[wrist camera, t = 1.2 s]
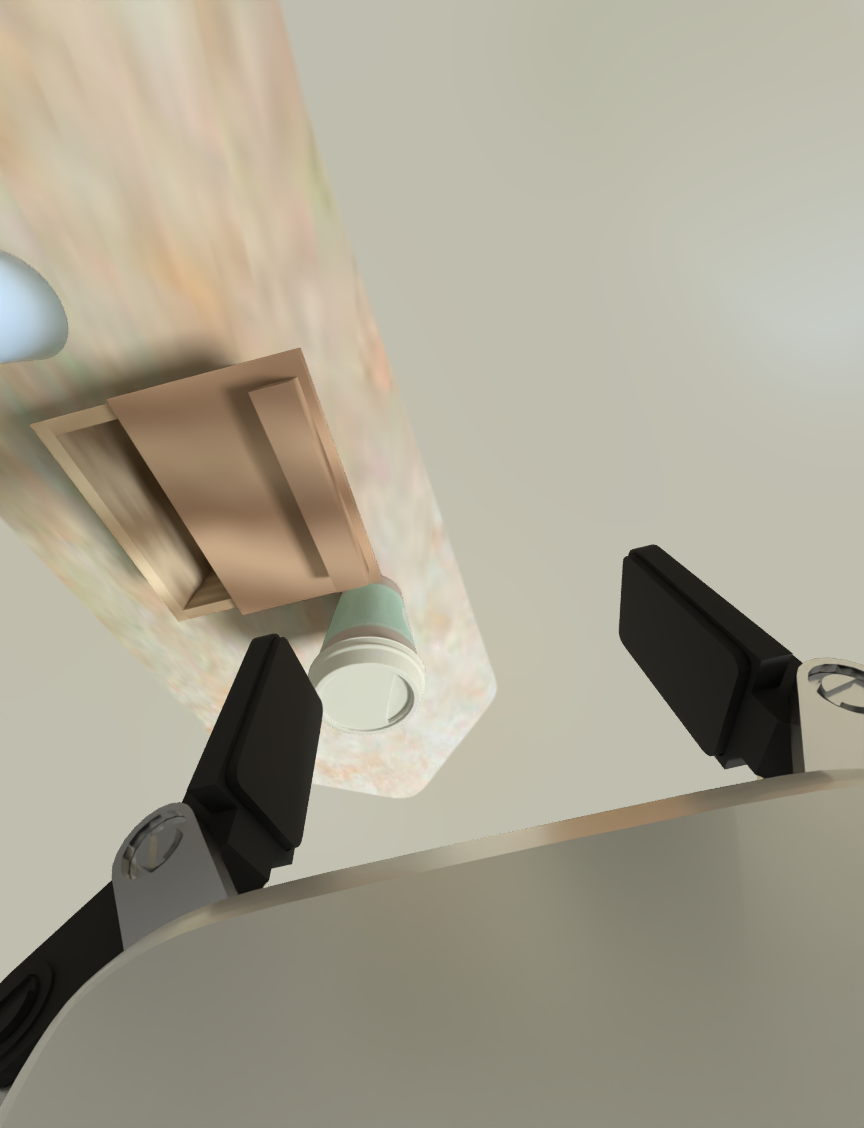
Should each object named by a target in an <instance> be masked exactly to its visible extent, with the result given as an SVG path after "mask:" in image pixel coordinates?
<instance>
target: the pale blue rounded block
mask: <svg viewBox="0 0 864 1128" xmlns="http://www.w3.org/2000/svg"><path fill="white" fill-rule="evenodd" d="M67 337H68V322H67V317H66V314H65V311H64V308H63V306H62V304H61V301H60V300H59V298H58V296H57V294H56V293H55V291H54V290H53V288H52V287H51V286H50V285H49V283H48V282H47V281H46V280H45V279H44V278H43V277H42V276H41V275H40V274H39V273H38V272H37V271H36V270H35V269H34V268H32V267H31V266H30V265H28V264H27V263H26V262H24V261H23V260H21V259H19V258H18V257H16V256H14V255H12V254H10V253H7V252H4V251H1V250H0V363H8V362H19V361H30V360H41V359H47V358H50V357H53V356H54V355H56V354H58V353H59V352H60V351H61V350H62V348H63V347H64V345H65V343H66V341H67Z"/></svg>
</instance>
